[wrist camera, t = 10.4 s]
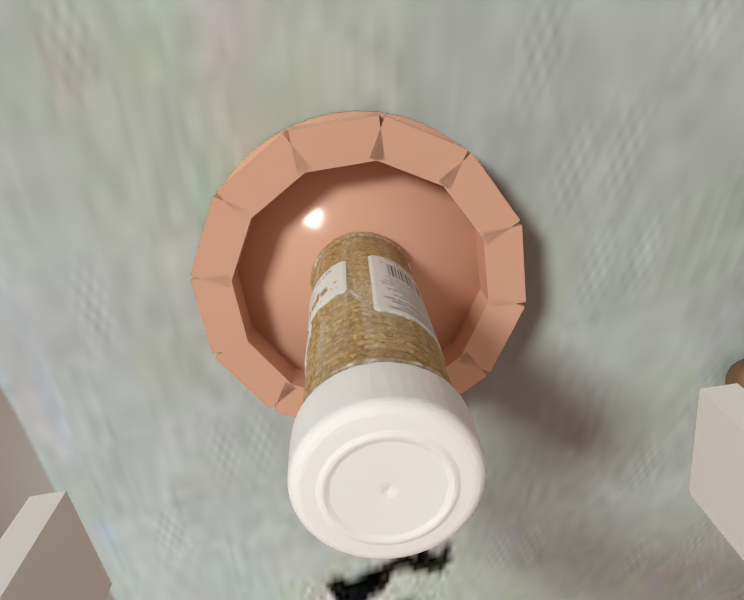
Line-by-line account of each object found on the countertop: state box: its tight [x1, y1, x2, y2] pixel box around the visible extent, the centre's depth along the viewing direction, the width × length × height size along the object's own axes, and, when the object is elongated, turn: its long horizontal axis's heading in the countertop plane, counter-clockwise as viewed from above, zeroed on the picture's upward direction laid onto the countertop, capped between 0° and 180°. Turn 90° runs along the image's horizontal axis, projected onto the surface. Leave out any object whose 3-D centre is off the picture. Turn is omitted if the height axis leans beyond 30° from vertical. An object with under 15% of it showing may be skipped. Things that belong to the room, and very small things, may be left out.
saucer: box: [191, 111, 526, 417], centre depth 24 cm, size 14×14×2 cm
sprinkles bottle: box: [288, 232, 486, 559], centre depth 19 cm, size 5×5×14 cm
